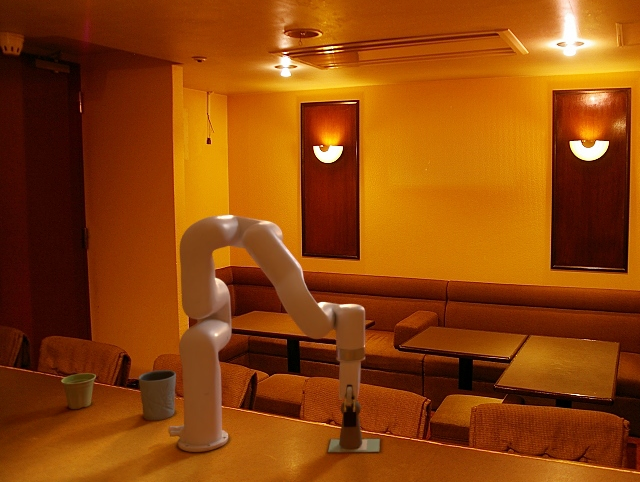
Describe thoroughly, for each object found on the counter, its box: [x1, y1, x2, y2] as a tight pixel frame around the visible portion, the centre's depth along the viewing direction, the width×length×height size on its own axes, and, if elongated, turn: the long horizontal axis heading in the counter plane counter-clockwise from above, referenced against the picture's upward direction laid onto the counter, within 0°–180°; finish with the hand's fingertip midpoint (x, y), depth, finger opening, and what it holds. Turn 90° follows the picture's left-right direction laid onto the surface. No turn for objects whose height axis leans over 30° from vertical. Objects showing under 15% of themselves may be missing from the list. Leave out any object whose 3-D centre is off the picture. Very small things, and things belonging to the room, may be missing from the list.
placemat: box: [327, 438, 381, 454], centre depth 157 cm, size 13×8×1 cm, turn 91°
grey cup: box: [138, 369, 177, 421], centre depth 178 cm, size 10×10×12 cm
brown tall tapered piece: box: [339, 400, 363, 448], centre depth 157 cm, size 6×6×11 cm
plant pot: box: [60, 372, 97, 410], centre depth 186 cm, size 9×9×9 cm
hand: (350, 421), depth 157 cm, fingers closed on brown tall tapered piece, 5 cm apart
